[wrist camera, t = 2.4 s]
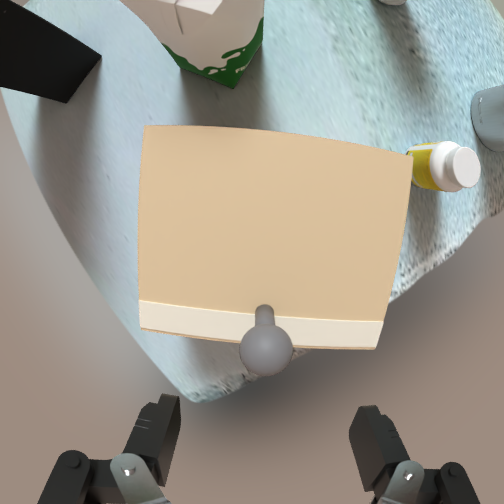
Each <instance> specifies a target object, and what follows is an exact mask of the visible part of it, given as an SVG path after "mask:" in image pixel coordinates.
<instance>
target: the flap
mask: <svg viewBox="0 0 504 504" xmlns="http://www.w3.org/2000/svg"><path fill="white" fill-rule="evenodd" d="M412 168H413V157H412V156H409V155H405V154H401V153H396V152H392V151H388V150H384V149H379V148H375V147H370V146H365V145H360V144H355V143H350V142H344V141H339V140H333V139H327V138H321V137H314V136H307V135H300V134H293V133H285V132H276V131H267V130H257V129H245V128H232V127H215V126H189V125H144V133H143V143H142V154H141V167H140V182H139V203H138V286H139V316H140V327H141V330H145V331H151V332H157V333H163V334H170V335H177V336H184V337H191V338H198V339H206V340H215V341H224V342H233V343H240V347H239V353H240V358H241V360H242V362H243V364H244V365H245V367H246V368H247V369H248V370H249V371H251V372H252V373H254V374H257V375H260V376H272V375H275V374H278V373H280V372H281V371H283V370H284V369H285V368H286V367H287V366H288V364H289V363H290V361H291V359H292V355H293V347H297V348H320V349H321V348H322V349H375V347H376V345H377V342H378V339H379V336H380V333H381V329H382V326H383V320H384V316H385V313H386V309H387V306H388V302H389V298H390V294H391V290H392V286H393V282H394V277H395V273H396V269H397V264H398V259H399V254H400V249H401V244H402V239H403V234H404V228H405V222H406V216H407V209H408V202H409V195H410V187H411V178H412Z"/></svg>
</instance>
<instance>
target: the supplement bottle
mask: <svg viewBox="0 0 504 504" xmlns="http://www.w3.org/2000/svg"><path fill="white" fill-rule="evenodd" d="M405 155H409V156H412V157H413V168H412V178H411V184H413V185H414V186H416V187H420V188H425V189H432V190H439V191H445V192H456V191H459V190H461V189H462V188H471V187H473V186H474V185H476V183H477V182H478V180H479V177H480V172H481V167H480V162H479V159H478V157H477V155H476V153H475V152H474V151H473V150H472V149H470V148H468V147H460V146H459V145H458V144H456V143H454V142H451V141H442V142H432V143H422V144H416V145H413V146H411V147H410V148H408V150H407V151H406V152H405Z"/></svg>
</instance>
